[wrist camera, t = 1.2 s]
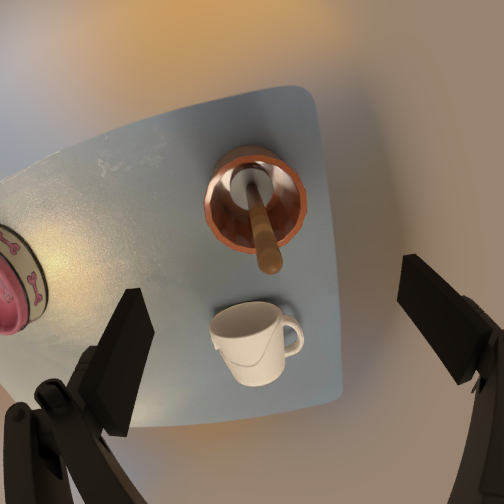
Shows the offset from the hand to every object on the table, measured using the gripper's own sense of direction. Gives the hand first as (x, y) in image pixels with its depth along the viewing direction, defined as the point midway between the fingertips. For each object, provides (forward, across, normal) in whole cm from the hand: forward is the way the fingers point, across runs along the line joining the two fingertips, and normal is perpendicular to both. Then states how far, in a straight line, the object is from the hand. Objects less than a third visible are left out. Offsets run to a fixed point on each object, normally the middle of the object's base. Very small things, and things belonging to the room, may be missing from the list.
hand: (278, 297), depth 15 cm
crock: (+24, 0, 0) cm, 24 cm away
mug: (+25, -1, -21) cm, 32 cm away
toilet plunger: (+24, 0, 0) cm, 24 cm away
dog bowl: (+25, -42, -8) cm, 49 cm away
